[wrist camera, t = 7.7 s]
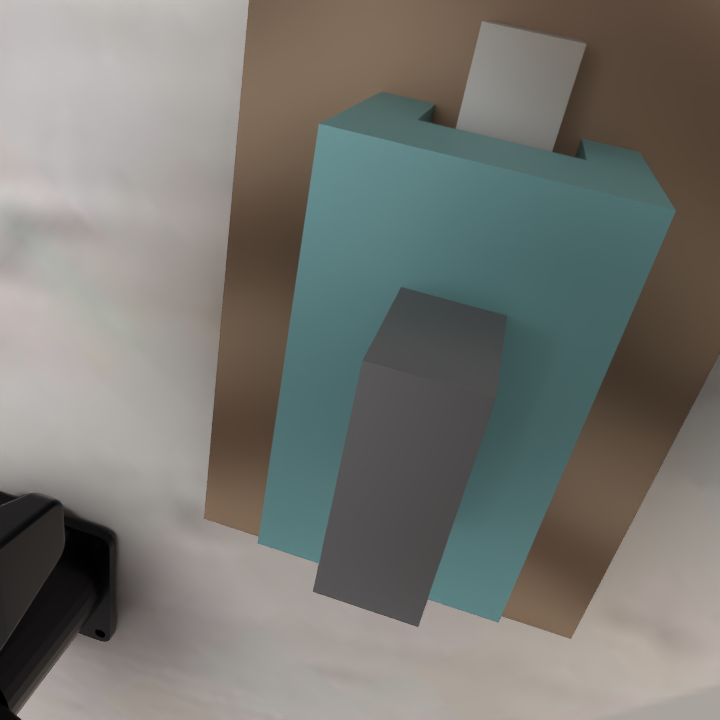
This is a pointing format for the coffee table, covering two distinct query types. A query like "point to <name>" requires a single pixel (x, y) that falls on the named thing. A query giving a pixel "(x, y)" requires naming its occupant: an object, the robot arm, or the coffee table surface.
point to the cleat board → (605, 108)
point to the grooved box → (446, 350)
